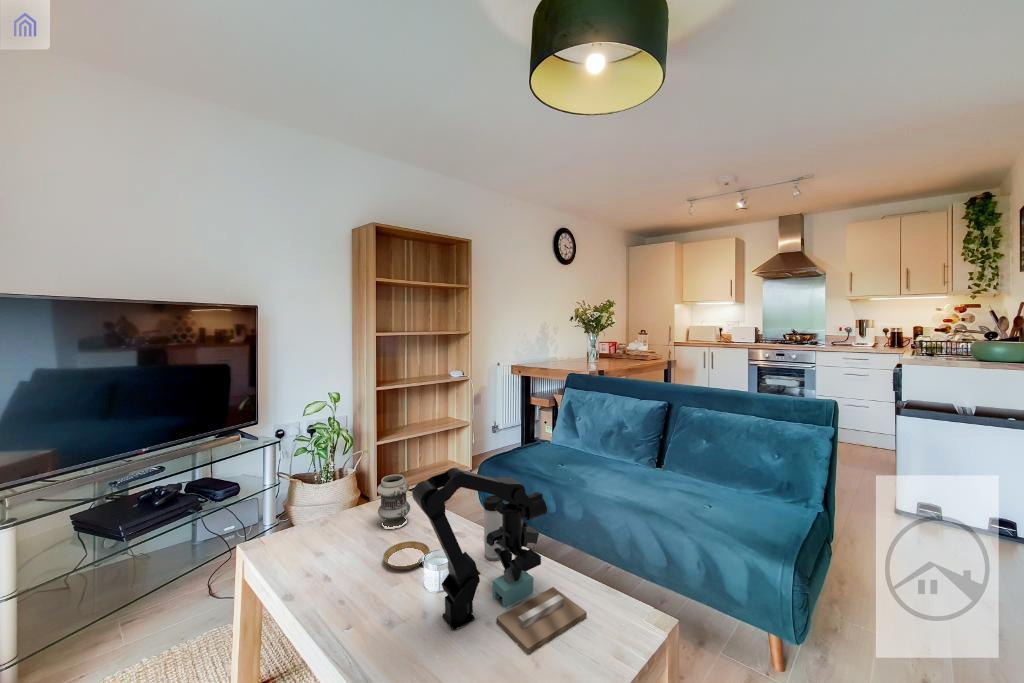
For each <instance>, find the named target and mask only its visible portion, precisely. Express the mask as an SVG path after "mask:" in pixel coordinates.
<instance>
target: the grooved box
mask: <svg viewBox="0 0 1024 683" xmlns="http://www.w3.org/2000/svg"><path fill="white" fill-rule="evenodd" d="M531 595H534V577H533V576H532V575H531V574H530V573H529V572H528V571H522V572H521V574H520V577H519V580H517V581H515V580H514V577H513V573H512V570H511V567H509V568H507V569H503V574H502V575H500V576H499V577H497V578H494V579H492V598H493V599H494V600H497V599H499V598H501V601H502V602H501V603H502V605H501V606H502V607H503V608H504V609H506V608H509V607H511V606H513V605H514V604H516V603H518V602H521V601H522V600H524V599H526V598H528V597H530V596H531Z"/></svg>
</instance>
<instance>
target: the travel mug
mask: <svg viewBox="0 0 1024 683" xmlns="http://www.w3.org/2000/svg"><path fill="white" fill-rule="evenodd" d="M500 502H504V500H503V499H501V498H500V497H498V496H496V495H493V494H492V495H490V496H487V497H486V498H485V499H484V500H483V525H484V526H483V533H484V534H483V535H484V536H483V539H484V540H483V541H484V543H483V544H484V558H485V559H486V560H488V561H490V562H496V561H500V559H499V557H498V555H497V554H496V552H495V551H494V549H495V548H496V544H495V542H497V540H496V541H494V545H493V546H490V545H489V544H487V543H486V537H487V535H488V534H489V533H490V532H493V531H495V530H498V529H499V527H501V526H502V514H500V513H499V512H498V511H496V510H495V507H496V506H497V505H499V504H500Z"/></svg>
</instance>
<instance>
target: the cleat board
mask: <svg viewBox="0 0 1024 683" xmlns="http://www.w3.org/2000/svg"><path fill="white" fill-rule="evenodd" d="M587 614H588V613H587V611H586V610H585V609H584V608H582V607H581V606H579V605H578V604H576V602H574V601H572V600H571V599H570V598H569V597H567V596H566V595H564V593H562V592H561V591H560V590H558V589H557V588H555V587H554V586H552V587H550V588H548V589H547V590H545V591H543V592H541V593H539V594H537V595H535V596H534V597H532V598H529V599H528V600H526V601H524V602H522V603H520V604H518V605H516V606H515V607H512V608H511V609H509V610H507V611H505V612H504V613H502V614H500V615H497V616H496V618H495V619H496V624H497V625H498V626H499V627H500V628H501V629H502V630H503V631H504V632H505V633H506V634H507V635H508V636H509V637H510V638H511V639H512V640H513V641H514V642H515V643H516V644H517V646H519V647H520V649H522V650H523V651H524V653H525V654H526V655H529V654H531V653H532V652H534V651H536V650H537V649H539V648H541V647H542V646H543V645H545V644H547V643H548V642H550V641H551V640H553V639H555V638H556V637H559V635H561V634H563V633H564V632H566V631H567V630H569V629H571V628H572V627H574V626H575V625H577V624H578V623H580V622H581V621H583V620H585V619H587V616H588V615H587Z"/></svg>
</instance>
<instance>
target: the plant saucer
mask: <svg viewBox="0 0 1024 683" xmlns="http://www.w3.org/2000/svg"><path fill="white" fill-rule="evenodd" d="M405 548H414V549H418V550H421V551H422V552H423V553H424V555H425V554H428V553H429V554H430V547H429V546H428V545H427V544H426V543H424V542H420V541H416V540H415V541H414V540H412V541H409V540H408V541H403V542H399V543H397V544H394V545H392V546H390V547H389V548H387V549H386V550H385V552H384V553H383V562H385V563H386V565H388V566H389V567H391V568H392V569H395V568H396V569H395V570H399V569H406V570H410V569H409V568H411V569H414V568H417V567H418V566H420V565H419V563H420V562H417V563H415V564H412V565H407V566H395V565H391V564H389V563H388V559H389V557H390V556H391V555H392V554H393V553H395V552H397V551H399V550H402V549H405ZM413 567H414V568H413Z"/></svg>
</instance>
